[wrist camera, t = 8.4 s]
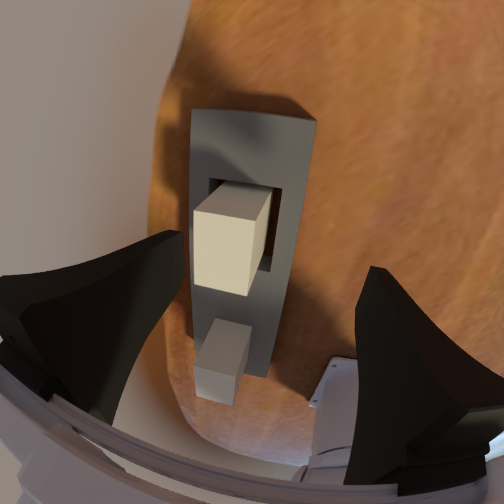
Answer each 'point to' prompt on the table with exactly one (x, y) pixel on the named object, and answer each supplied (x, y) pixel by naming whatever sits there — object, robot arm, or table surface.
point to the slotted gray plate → (270, 268)
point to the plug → (231, 235)
